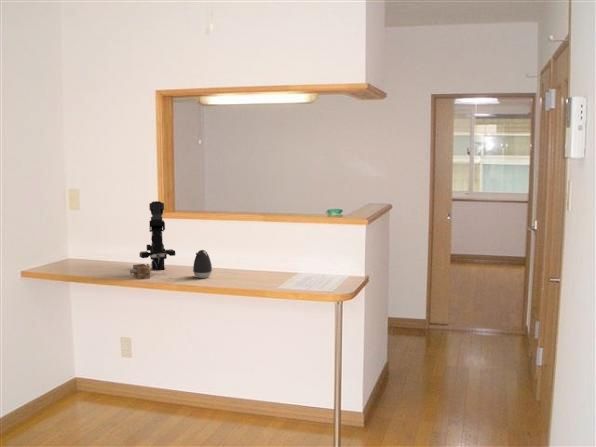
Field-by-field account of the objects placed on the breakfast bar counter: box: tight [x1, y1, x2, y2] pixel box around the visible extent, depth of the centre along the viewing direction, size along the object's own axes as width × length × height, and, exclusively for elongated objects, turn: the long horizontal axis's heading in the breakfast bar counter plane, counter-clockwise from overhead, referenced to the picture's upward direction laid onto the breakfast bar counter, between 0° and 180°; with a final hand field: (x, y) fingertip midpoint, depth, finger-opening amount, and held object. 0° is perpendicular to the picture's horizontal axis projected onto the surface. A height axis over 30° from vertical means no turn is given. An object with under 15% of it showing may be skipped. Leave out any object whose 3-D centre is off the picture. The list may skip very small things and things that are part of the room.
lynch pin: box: [129, 263, 151, 275], centre depth 335 cm, size 10×5×6 cm, turn 118°
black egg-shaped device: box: [192, 249, 213, 279], centre depth 333 cm, size 10×10×15 cm
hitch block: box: [132, 263, 151, 280], centre depth 335 cm, size 6×12×6 cm, turn 28°
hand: (158, 269), depth 339 cm, fingers closed
